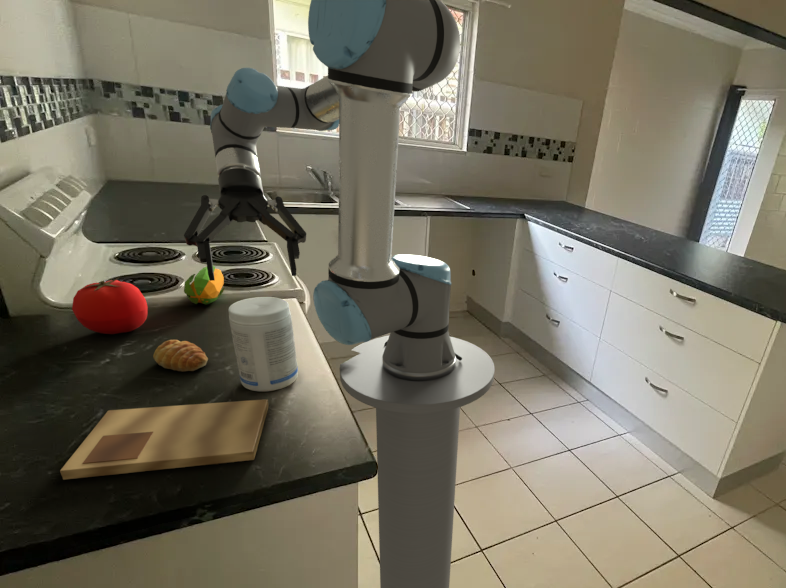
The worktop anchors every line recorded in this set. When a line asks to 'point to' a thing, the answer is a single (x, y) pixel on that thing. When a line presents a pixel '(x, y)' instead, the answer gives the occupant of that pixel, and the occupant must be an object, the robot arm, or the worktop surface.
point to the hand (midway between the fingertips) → (254, 274)
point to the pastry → (180, 356)
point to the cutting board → (169, 438)
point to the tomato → (110, 307)
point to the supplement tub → (263, 343)
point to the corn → (204, 286)
